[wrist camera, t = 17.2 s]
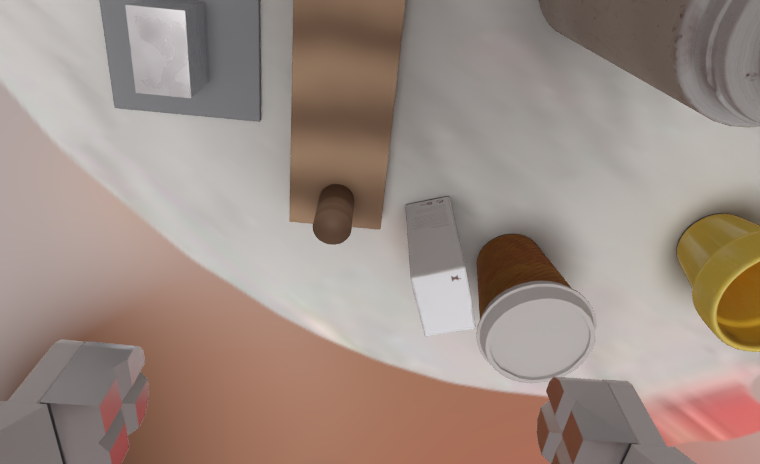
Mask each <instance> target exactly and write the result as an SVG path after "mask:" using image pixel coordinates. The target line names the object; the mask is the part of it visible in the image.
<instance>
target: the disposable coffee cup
mask: <svg viewBox="0 0 760 464" xmlns="http://www.w3.org/2000/svg"><path fill="white" fill-rule="evenodd" d="M477 275H478V292H479V310H480V322H479V324H478V328H477V343H478V347H479V350H480V352H481V354H482V355H483V357H484V358H485V359H486V360H487V361H488V362H489V363H490V364H491V365H492V366H493V368H494V369H495V370H496V371H498V372H499V373H500V374H501V375H503V376H505V377H507V378H509V379H511V380H514V381H518V382H524V383H539V382H548V381H550V380H551V379H552V378H553V377H564V376H566V375H567V374H569V373H571V372H572V371H574V370H575V369H577V368H578V367H579V366H580V365H581V364H582V363H583V362H584V361H585V360H586V359H587V357H588V356H589V354H590V353H591V351H592V349H593V346H594V342H595V331H596V316H595V313H594V310H593V308H592V306H591V305H590V303H589V302H588V301H587V300H586V298H585V297H584V296H582V295H581V294H580V293H579V292H577V291H576V290H574V289H572V288H571V287H570V286H569V284H568V283H567V282H566V281H565V279H564V278H563V277H562V276H561V274H560V273H559V272H558V271H557V269H556V268H555V267H554V266H553V264H552V263H551V262H550V260H549V259H548V258H547V257H546V256H545V254H544V253H543V252H542V251H541V249H540V248H539V247H538V246H537V244H536V243H535V242H534V241H533V240H531V239H530V238H528V237H526V236H523V235H518V234H509V235H503V236H499V237H497V238H495V239H493V240H491V241H490V242H488V243H487V244H486V245H485V246H484V247H483V249H482V250H481V251H480V254H479V256H478V259H477Z"/></svg>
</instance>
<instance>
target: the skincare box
mask: <svg viewBox="0 0 760 464" xmlns="http://www.w3.org/2000/svg"><path fill="white" fill-rule="evenodd" d="M405 209H406V221H407V236H408V248H409V262H410V274H411V282H412V287H413V291H414V296H415V300H416V303H417V307H418V310H419V314H420V318H421V322H422V326H423V330H424V335H425V336H426V337H428V336H433V335H439V334H445V333H451V332H458V331H464V330H472V329H475V327H476V325H475V319H474V314H473V308H472V299H471V294H470V288H469V282H468V277H467V271H466V266H465V261H464V256H463V253H462V249H461V245H460V240H459V236H458V232H457V228H456V224H455V219H454V215H453V210H452V206H451V202H450V198H449V197H444V198H439V199H434V200H429V201H424V202H418V203H413V204H408V205H406V206H405Z"/></svg>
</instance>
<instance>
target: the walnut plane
mask: <svg viewBox="0 0 760 464" xmlns="http://www.w3.org/2000/svg"><path fill="white" fill-rule="evenodd" d="M405 2H406V0H294V8H293V62H292V117H291V171H290V222H300V223H312V224H313V231H314V234H315V235H316V237H317V238H318V239H319V240H320V241H322V242H324V243H327V244H339V243H342V242H344V241H345V240H346V239H347V238H348V237H349V236H350V233H351V228H352V227H358V228H370V229H380V228H381V219H382V210H383V201H384V192H385V183H386V174H387V165H388V156H389V147H390V138H391V129H392V120H393V111H394V102H395V93H396V84H397V75H398V66H399V56H400V47H401V38H402V29H403V20H404V11H405Z"/></svg>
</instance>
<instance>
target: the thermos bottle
mask: <svg viewBox="0 0 760 464" xmlns="http://www.w3.org/2000/svg"><path fill="white" fill-rule="evenodd" d="M539 1H540V7H541V10H542V12H543V15H544V17H545V18H546V20H547V21H548V23H549V24H550V25H551V26H552V27H553V28H554V29H555V30H556V31H557V32H559V33H561V34H562V35H564V36H566V37H567V38H569V39H571V40H573V41H574V42H576V43H578V44H580V45H581V46H583V47H585V48H587V49H588V50H590V51H592V52H594V53H596V54H597V55H599V56H601V57H603V58H604V59H606V60H608V61H610V62H611V63H613V64H615V65H616V66H618V67H620V68H622V69H623V70H625V71H627V72H629V73H630V74H632V75H634V76H636V77H637V78H639V79H641V80H643V81H644V82H646V83H648V84H650V85H651V86H653V87H655V88H657V89H658V90H660V91H662V92H664V93H665V94H667V95H669V96H671V97H672V98H674V99H676V100H678V101H679V102H681V103H683V104H685V105H686V106H688V107H690V108H692V109H694V110H695V111H697V112H699V113H701V114H702V115H704V116H706V117H708V118H709V119H711V120H713V121H716V122H719V123H722V124H726V125H729V126H738V127H756V126H760V0H539Z"/></svg>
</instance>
